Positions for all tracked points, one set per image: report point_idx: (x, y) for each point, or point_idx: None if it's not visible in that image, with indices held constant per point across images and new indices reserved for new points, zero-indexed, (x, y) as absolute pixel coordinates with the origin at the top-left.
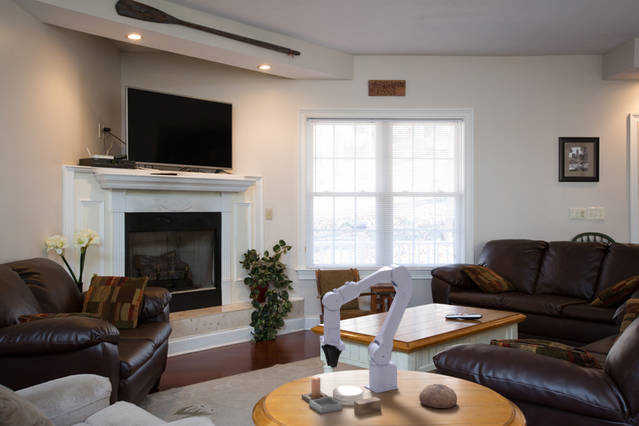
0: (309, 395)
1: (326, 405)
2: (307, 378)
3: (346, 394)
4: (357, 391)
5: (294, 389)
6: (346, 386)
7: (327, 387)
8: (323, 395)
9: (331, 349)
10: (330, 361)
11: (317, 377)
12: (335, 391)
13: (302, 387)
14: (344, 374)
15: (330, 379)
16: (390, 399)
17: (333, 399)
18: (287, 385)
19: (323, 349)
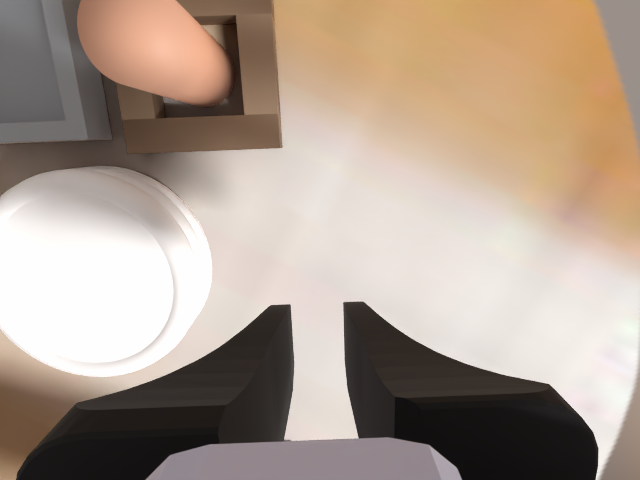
0: (238, 32)
1: (31, 72)
2: (631, 217)
3: (4, 235)
4: (45, 332)
5: (476, 19)
6: (170, 314)
7: (391, 255)
8: (181, 125)
9: (20, 473)
10: (256, 327)
11: (160, 66)
12: (83, 189)
13: (482, 97)
14: None
15: (518, 340)
16: None
17: (17, 129)
18: (588, 6)
19: (448, 380)
